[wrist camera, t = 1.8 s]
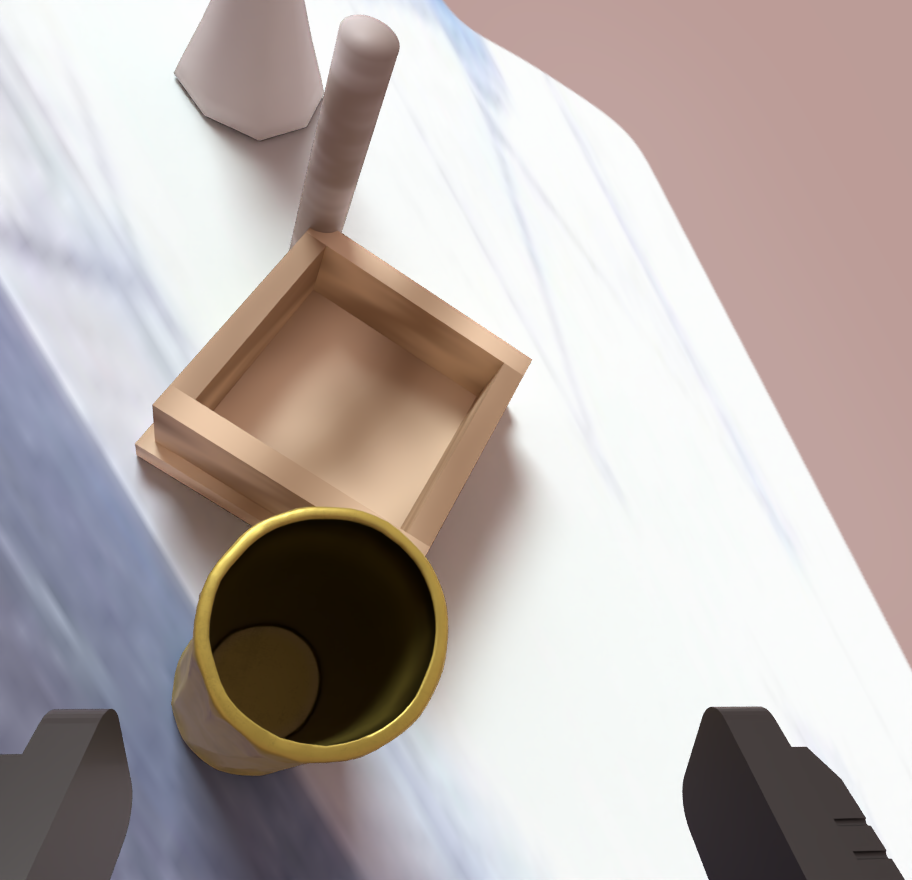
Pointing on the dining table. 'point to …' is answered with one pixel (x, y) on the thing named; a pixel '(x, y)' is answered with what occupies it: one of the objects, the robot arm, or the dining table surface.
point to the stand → (338, 357)
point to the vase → (310, 643)
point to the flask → (253, 66)
